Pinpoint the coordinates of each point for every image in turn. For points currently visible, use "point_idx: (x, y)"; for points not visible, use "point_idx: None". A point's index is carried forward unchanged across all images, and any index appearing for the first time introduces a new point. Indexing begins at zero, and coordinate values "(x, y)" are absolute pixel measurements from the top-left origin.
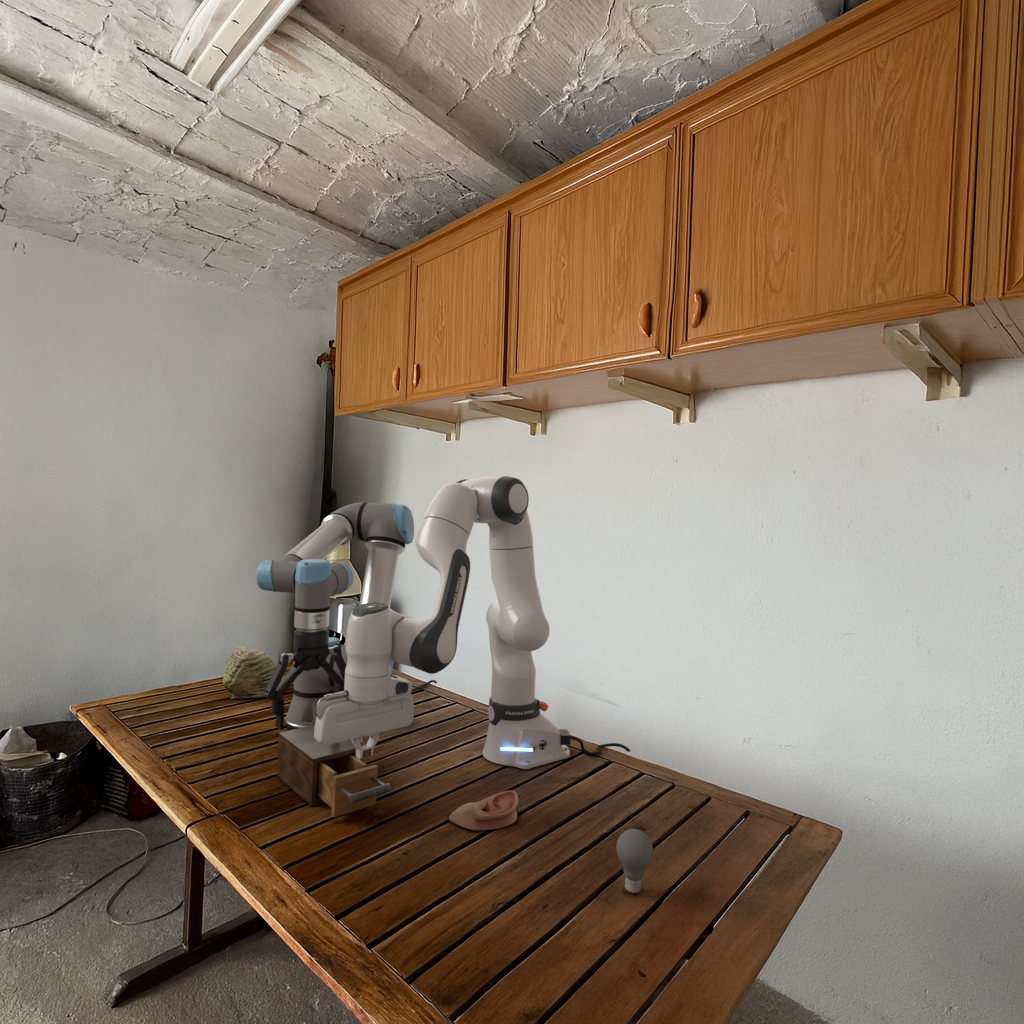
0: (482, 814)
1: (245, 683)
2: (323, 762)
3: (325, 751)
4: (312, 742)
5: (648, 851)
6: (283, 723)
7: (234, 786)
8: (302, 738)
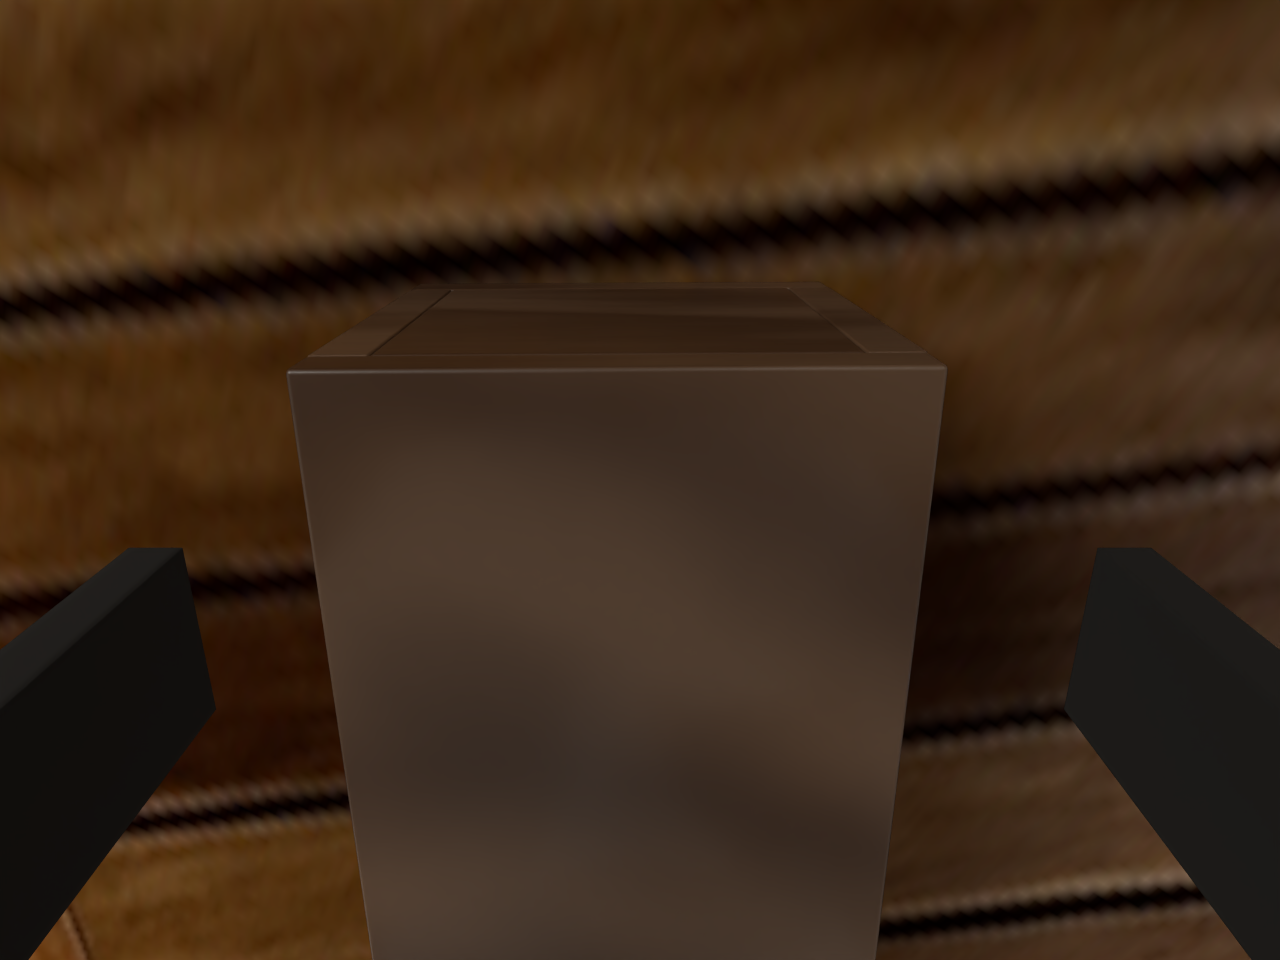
0: None
1: None
2: None
3: None
4: (539, 846)
5: None
6: (168, 766)
7: (69, 270)
8: (490, 700)
